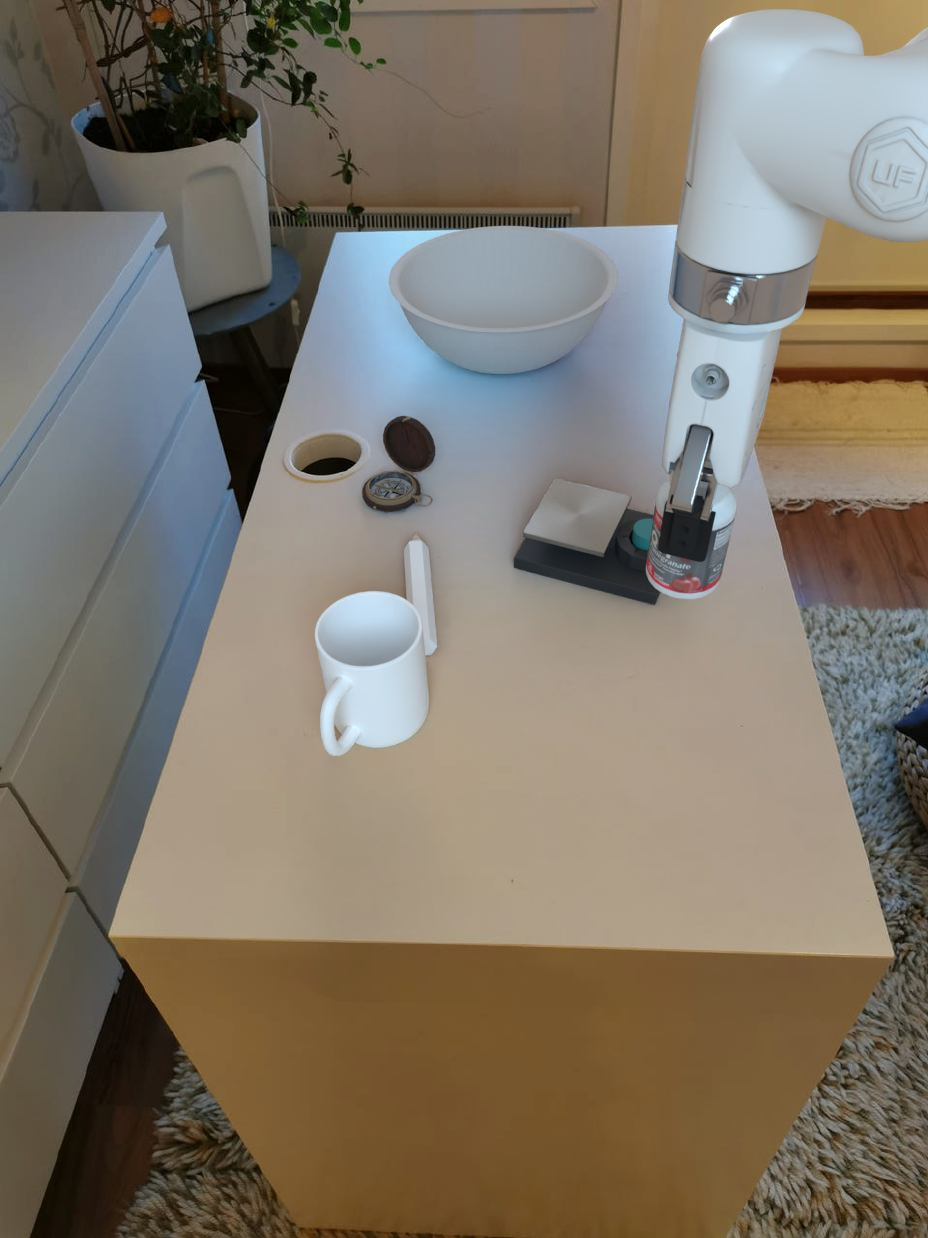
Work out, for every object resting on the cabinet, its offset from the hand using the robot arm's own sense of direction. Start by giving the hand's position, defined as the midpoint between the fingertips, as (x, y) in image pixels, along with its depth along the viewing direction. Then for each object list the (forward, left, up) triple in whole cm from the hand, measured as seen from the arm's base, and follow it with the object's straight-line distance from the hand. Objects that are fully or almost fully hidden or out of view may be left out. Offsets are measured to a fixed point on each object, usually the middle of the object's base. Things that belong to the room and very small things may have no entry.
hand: (692, 524), depth 66 cm
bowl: (+33, -49, -20) cm, 62 cm away
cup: (+21, +11, -20) cm, 31 cm away
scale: (+10, -17, -20) cm, 28 cm away
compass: (+32, -18, -20) cm, 42 cm away
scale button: (+6, -17, -17) cm, 25 cm away
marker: (+24, -5, -20) cm, 32 cm away
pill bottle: (0, 0, -5) cm, 5 cm away
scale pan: (+13, -17, -16) cm, 27 cm away
